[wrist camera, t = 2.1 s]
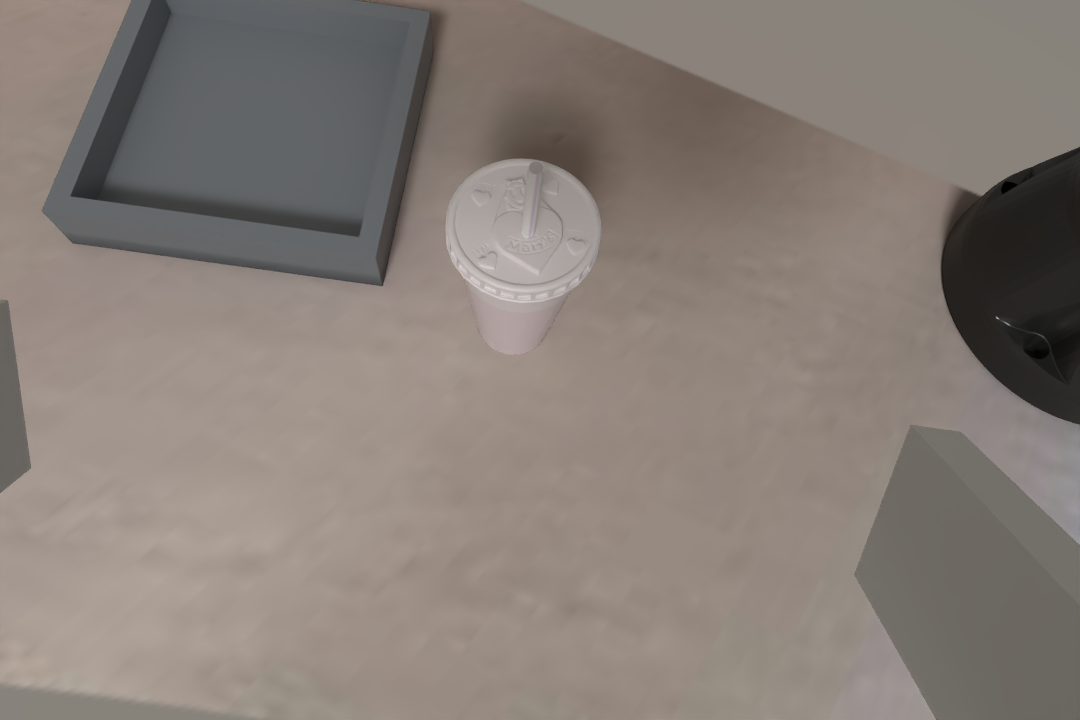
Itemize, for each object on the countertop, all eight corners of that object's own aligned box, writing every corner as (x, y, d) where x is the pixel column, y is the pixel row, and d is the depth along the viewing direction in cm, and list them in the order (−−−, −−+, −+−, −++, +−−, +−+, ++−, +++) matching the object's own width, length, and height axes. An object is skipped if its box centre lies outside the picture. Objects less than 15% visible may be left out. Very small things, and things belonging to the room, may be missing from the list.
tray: (433, 51, 45) (430, 11, 43) (382, 286, 39) (375, 257, 37) (165, 11, 45) (145, -32, 42) (72, 242, 39) (41, 210, 36)
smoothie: (464, 390, 38) (459, 248, 25) (440, 278, 40) (424, 94, 27) (587, 366, 39) (645, 218, 26) (557, 258, 41) (596, 71, 28)
